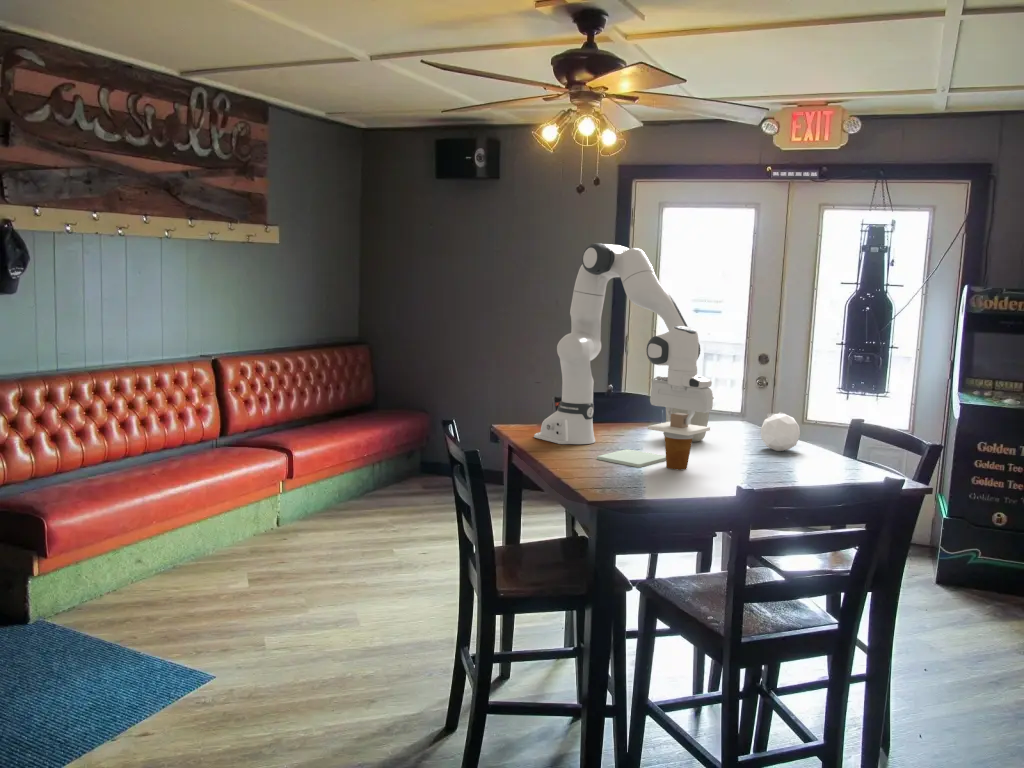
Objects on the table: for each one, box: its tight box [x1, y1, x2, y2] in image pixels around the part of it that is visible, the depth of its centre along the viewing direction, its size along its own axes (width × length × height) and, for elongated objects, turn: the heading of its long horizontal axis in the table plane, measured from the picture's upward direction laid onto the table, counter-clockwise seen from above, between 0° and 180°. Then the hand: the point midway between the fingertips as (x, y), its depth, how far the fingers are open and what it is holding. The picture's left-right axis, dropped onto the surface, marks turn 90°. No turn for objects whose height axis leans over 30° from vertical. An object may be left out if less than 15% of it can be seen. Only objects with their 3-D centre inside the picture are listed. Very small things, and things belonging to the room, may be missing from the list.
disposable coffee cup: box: [662, 432, 694, 471], centre depth 270 cm, size 10×10×12 cm
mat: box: [596, 448, 666, 468], centre depth 281 cm, size 16×18×1 cm
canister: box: [665, 396, 714, 443], centre depth 318 cm, size 18×18×21 cm
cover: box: [647, 413, 711, 436], centre depth 269 cm, size 14×14×5 cm
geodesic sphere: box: [760, 411, 801, 452], centre depth 305 cm, size 14×14×14 cm
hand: (679, 423), depth 269 cm, fingers closed on cover, 4 cm apart
